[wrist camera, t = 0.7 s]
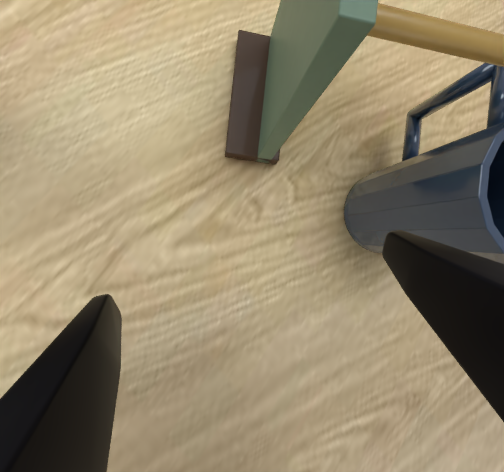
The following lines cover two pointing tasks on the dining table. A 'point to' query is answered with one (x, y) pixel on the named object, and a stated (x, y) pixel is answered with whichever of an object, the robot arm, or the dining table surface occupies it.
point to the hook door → (324, 62)
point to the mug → (440, 181)
